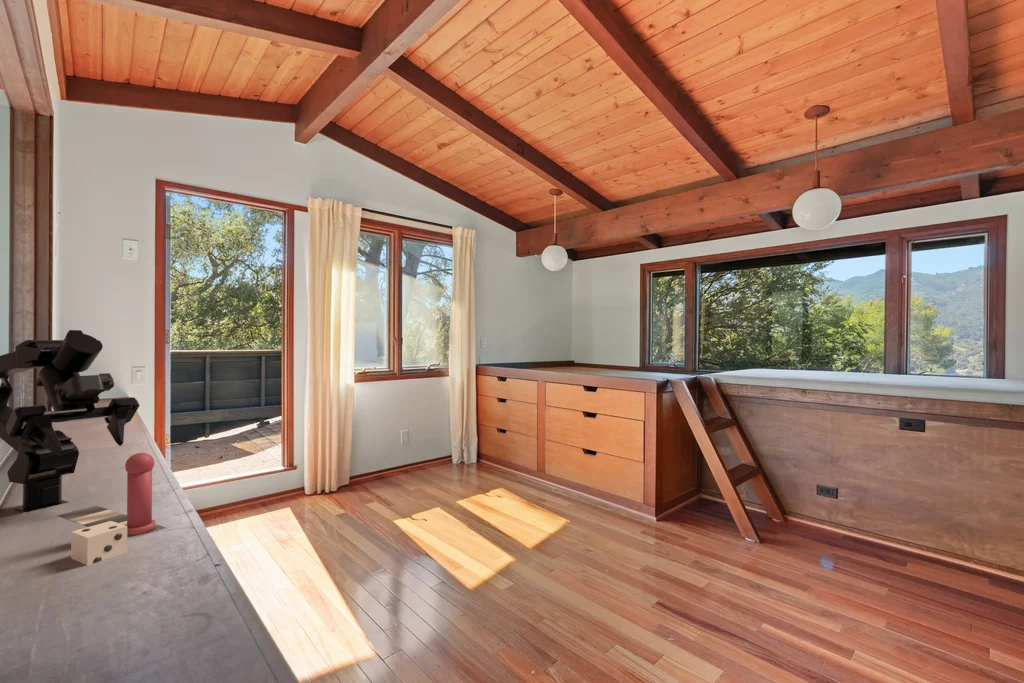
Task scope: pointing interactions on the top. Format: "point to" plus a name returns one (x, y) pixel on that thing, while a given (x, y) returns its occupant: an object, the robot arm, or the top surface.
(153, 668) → the top surface
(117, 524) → the die
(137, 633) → the top surface
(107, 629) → the top surface
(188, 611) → the top surface
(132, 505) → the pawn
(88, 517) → the board
